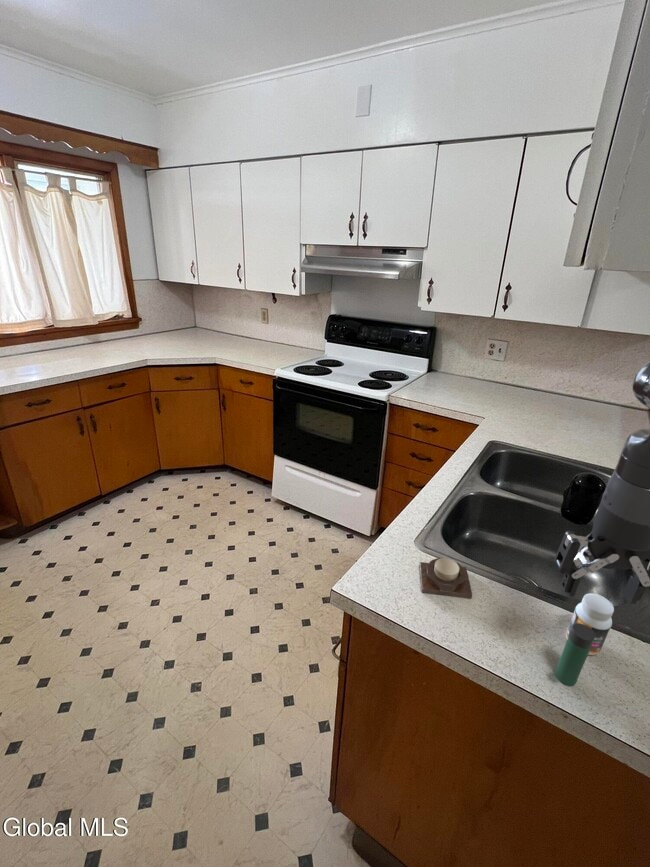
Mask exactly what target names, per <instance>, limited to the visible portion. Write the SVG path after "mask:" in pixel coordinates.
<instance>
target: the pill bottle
mask: <svg viewBox="0 0 650 867" xmlns="http://www.w3.org/2000/svg"><path fill="white" fill-rule="evenodd" d="M614 612H615V607H614V604H612V602H611V601H610V600H608V599H607V598H606V597H604V596H602V595H600V594H597V593H592V592H590V593H586V594H584V595H583V597H582V600H581V601H580V602H579V603H577V605H576V606H575V608H574V611H573V614H572V616H571V618H570V621H569V623H568V626H567V629H566V632H565V638H566V640H567V639H568V637H569V634H570V631H571V629H572V626H573V625H574V624H577V623H580V624H584V625H586V626H588V627H589V628H591V629H592V630H593V632H594V634H595V639H594V641H593V644H592V646H591V648H590V651H589V653H588V655H587V656H596V655H598V654H599V653H601V650H602V649H603V647H604V643H605V641H606V639H607V637H608V635H609V633H610V630H611V628H612V626H613V620H612V619H613V618H612V617H613V614H614Z"/></svg>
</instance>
